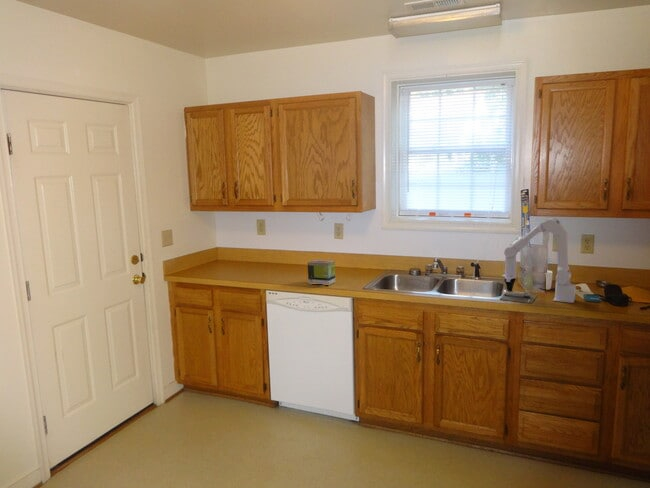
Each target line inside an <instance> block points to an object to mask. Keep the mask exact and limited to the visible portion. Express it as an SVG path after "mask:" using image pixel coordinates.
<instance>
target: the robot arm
mask: <svg viewBox="0 0 650 488" xmlns="http://www.w3.org/2000/svg"><path fill="white" fill-rule="evenodd" d="M544 232H548V233H550V234H552V235H554V236H555V237H556V246H557V247H556V249H557V251H556V252H557V274H556V276H555V291H554V298H553V299H552V301H554V302H561V303H569V304H570V303H572V304H573V303H574V302H575V299H576V284H573V283H572V282H571V279H572V273H571V271H570V267H569V253H568V252H569V251H568V232H567V230H566V228H565V227H564V226H563V225H562V223H561V221H560V220H558V219H556V218H555V217H549V218H547V219H545V220H544V221H542V222H541V223H540V224H538V225H536V226H535V227H534V228H533V229H531V230H530V232H528V233H527V234H526V235H524V236H519V237H517V238H515V241H514V242H512V243H510V244H509V246H507V247H506V248H505V249H504V256H505V260H504V274H502V277H503V278H504V282H505V285H506V290H508V291H513V290H514V289H513V288H514V285H515V283H516V280H517V275H516V274H517V273H516V272H517V255H518V253H519V252H521V251H522V250H523V249H524V248H526V247H527V246H528V244H529V241H530V240H531V239H533V238H534V237H536V236H537V235H538V234H539V233H544Z"/></svg>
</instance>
